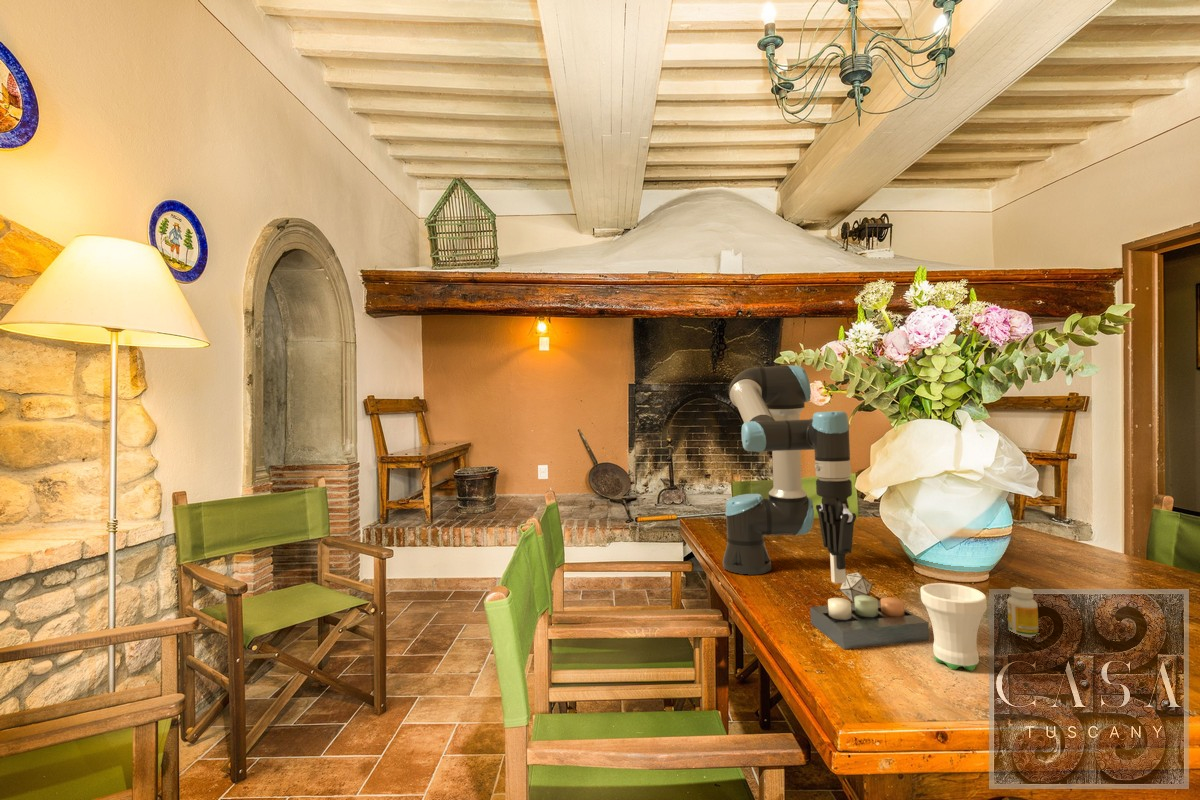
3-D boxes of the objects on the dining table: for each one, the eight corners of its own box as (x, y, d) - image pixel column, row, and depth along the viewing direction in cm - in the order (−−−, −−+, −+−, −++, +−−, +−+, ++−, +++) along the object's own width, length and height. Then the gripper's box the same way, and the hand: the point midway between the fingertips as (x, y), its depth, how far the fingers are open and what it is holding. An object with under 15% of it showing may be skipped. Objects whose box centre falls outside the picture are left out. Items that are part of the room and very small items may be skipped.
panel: (811, 623, 131) (810, 607, 131) (888, 616, 133) (887, 599, 133) (843, 649, 117) (842, 630, 117) (929, 640, 119) (928, 622, 119)
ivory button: (824, 612, 126) (823, 598, 126) (843, 610, 127) (843, 596, 127) (835, 620, 121) (835, 606, 121) (855, 618, 122) (855, 604, 122)
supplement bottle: (1002, 629, 123) (1000, 587, 123) (1020, 626, 124) (1018, 584, 124) (1026, 639, 117) (1024, 595, 117) (1045, 636, 119) (1043, 592, 119)
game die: (865, 618, 141) (882, 595, 135) (832, 605, 143) (847, 582, 137) (863, 591, 148) (879, 568, 143) (831, 579, 150) (846, 556, 144)
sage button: (850, 610, 127) (850, 596, 127) (869, 608, 128) (869, 594, 128) (863, 617, 122) (862, 603, 122) (882, 615, 123) (882, 601, 123)
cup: (959, 681, 102) (955, 605, 102) (910, 655, 113) (907, 587, 113) (1004, 670, 105) (1000, 597, 105) (952, 646, 116) (949, 579, 116)
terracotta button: (876, 611, 128) (876, 598, 128) (895, 610, 128) (895, 596, 128) (890, 619, 123) (889, 605, 123) (909, 617, 124) (908, 603, 124)
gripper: (803, 476, 130) (808, 574, 130) (833, 483, 117) (839, 592, 117) (833, 474, 131) (838, 572, 131) (865, 481, 118) (871, 589, 118)
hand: (838, 581), depth 124 cm, fingers closed
